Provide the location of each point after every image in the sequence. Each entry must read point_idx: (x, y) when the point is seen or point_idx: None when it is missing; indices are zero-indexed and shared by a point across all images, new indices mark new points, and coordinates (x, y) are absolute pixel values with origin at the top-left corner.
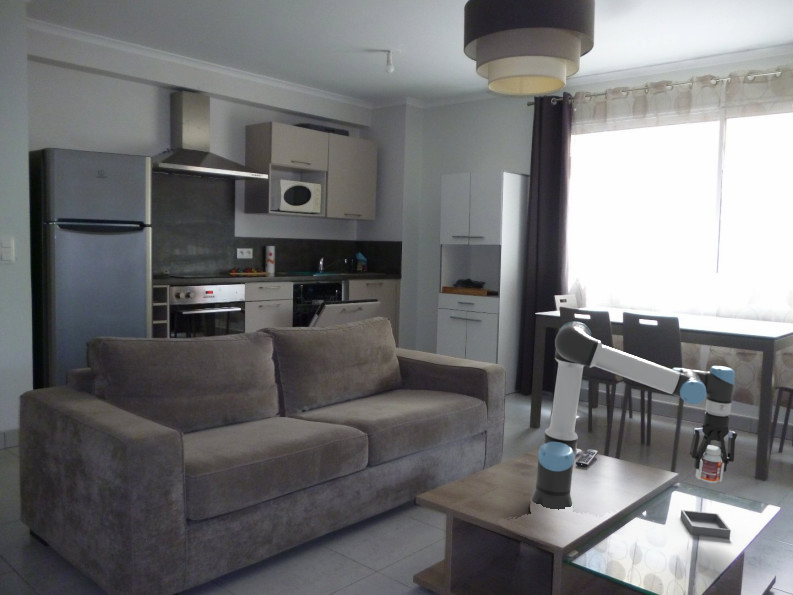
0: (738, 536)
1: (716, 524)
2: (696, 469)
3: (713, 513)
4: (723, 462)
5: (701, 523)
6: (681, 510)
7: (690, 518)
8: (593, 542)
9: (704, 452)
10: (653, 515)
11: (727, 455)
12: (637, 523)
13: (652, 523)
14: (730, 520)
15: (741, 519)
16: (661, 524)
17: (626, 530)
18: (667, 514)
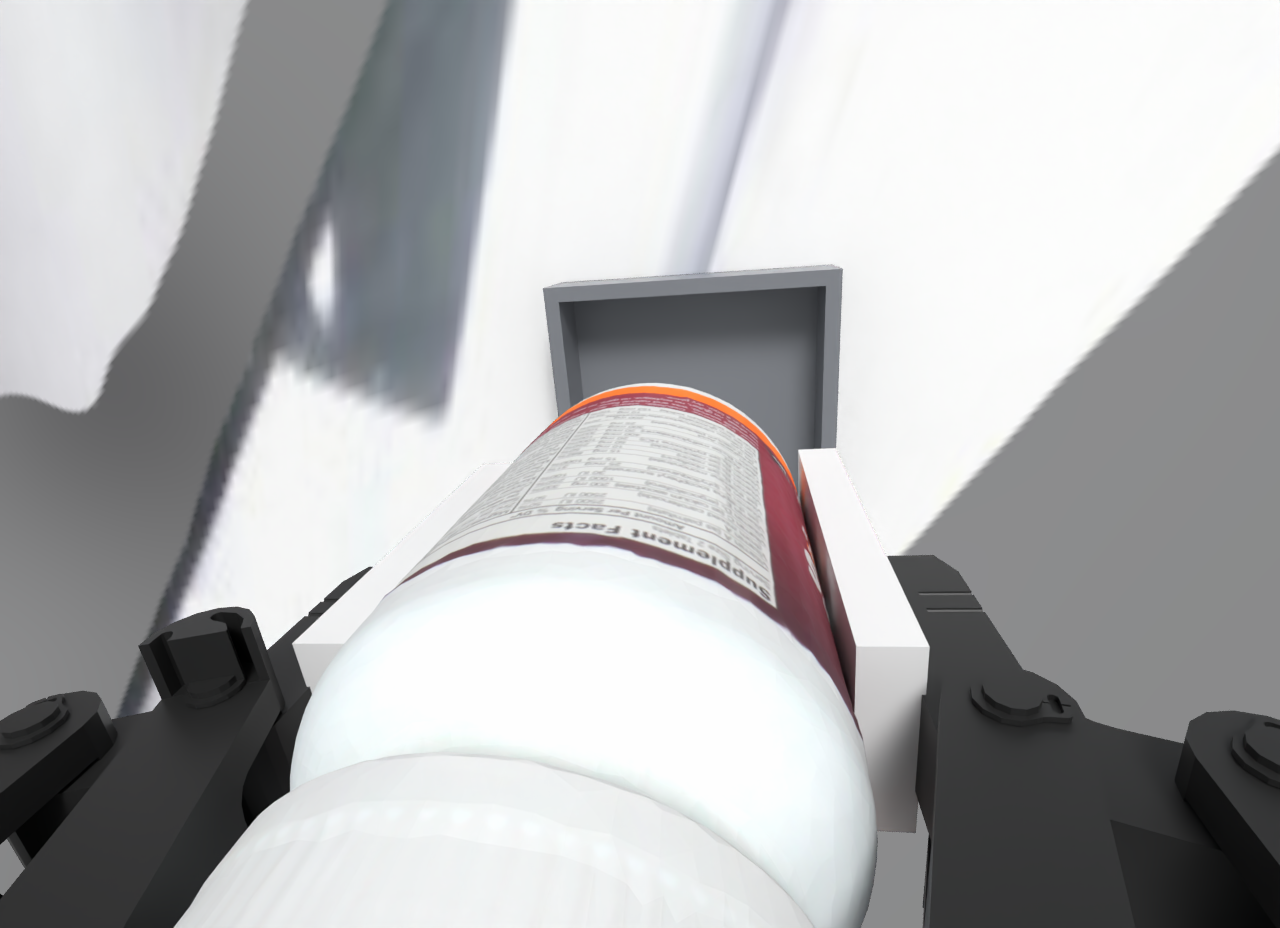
0: (906, 468)
1: (801, 350)
2: (434, 511)
3: (804, 278)
4: (917, 791)
5: (688, 363)
6: (544, 293)
7: (626, 299)
8: (130, 693)
9: (330, 762)
10: (382, 299)
11: (1245, 843)
12: (291, 452)
13: (374, 427)
14: (974, 190)
15: (1101, 129)
16: (426, 426)
17: (244, 552)
18: (477, 246)
